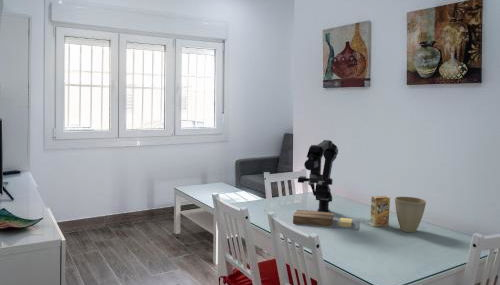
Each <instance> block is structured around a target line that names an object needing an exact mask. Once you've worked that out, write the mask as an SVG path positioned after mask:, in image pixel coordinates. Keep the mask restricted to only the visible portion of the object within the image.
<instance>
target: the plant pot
mask: <svg viewBox="0 0 500 285" xmlns="http://www.w3.org/2000/svg"><path fill="white" fill-rule="evenodd" d="M394 203H395V212H396V218H397V222H398V226H399V228H400V230H401V231H402V232H406V233H416V232H417V231H418V228H419V226H420V224H421V221H422V219H423V216H424V212H425V209H426V205H427V200H425V199H422V198H419V197H414V196H413V197H412V196H396V197H394Z"/></svg>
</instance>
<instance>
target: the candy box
mask: <svg viewBox="0 0 500 285" xmlns="http://www.w3.org/2000/svg"><path fill="white" fill-rule="evenodd" d="M370 200H371V201H370V202H371V204H370V222H369V224H370V226H372V227H389V225H390V223H389V222H390V209H391V208H390V206H391V197H390V196H387V195H377V196H371V199H370Z"/></svg>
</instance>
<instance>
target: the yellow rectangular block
mask: <svg viewBox="0 0 500 285" xmlns="http://www.w3.org/2000/svg"><path fill="white" fill-rule="evenodd" d="M339 219H340V221H339V226H346V227H351V224H352V221H353V219H352V218H347V217H340V218H339Z"/></svg>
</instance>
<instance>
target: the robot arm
mask: <svg viewBox="0 0 500 285" xmlns="http://www.w3.org/2000/svg"><path fill="white" fill-rule="evenodd" d="M338 154H339V148H338V147H337V145H336V144H335V143H333V141H332V140H329V139H327V140H326V139H323V141H322V142H320V143H317V144H311V145H310V146H309V148H308V151H307V154H306V158H307V159H306V160H305V162H304V164H303V165H304V169H305V170H308V171H310V173H309V177H307V176H303V175H302V176H301V175H299V177H298V178H297V183H300V184H301V183H305V182H307V184H308V185H309V186H310V188H311V190H312V191H311V192H312V194H313V196H314V197H315V201H318V209H317V211H318V212H330V208H329V204H330V203H332V202H333V194H332V192H331V188H330V186H333V181H334V180H333V178H331V173H332V168H333V163H334V161H335V160H336V159H337V157H338V156H337V155H338ZM322 158H324V164H323V170H322V160H323V159H322ZM321 172H322V173H321Z"/></svg>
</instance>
